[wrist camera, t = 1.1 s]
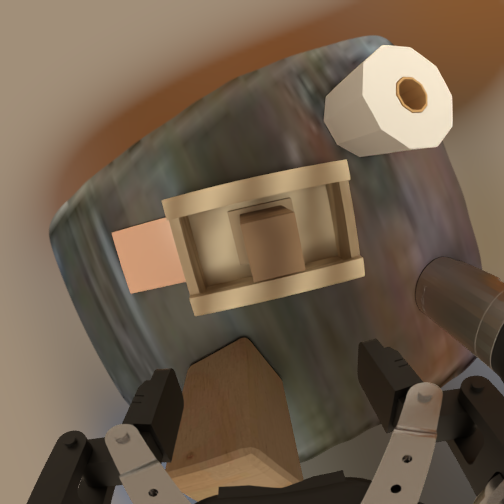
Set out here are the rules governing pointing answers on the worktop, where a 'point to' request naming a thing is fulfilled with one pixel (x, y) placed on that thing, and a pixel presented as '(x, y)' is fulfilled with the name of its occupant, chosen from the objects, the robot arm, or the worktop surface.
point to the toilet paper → (389, 104)
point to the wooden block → (233, 426)
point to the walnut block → (272, 242)
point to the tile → (148, 255)
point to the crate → (232, 242)
